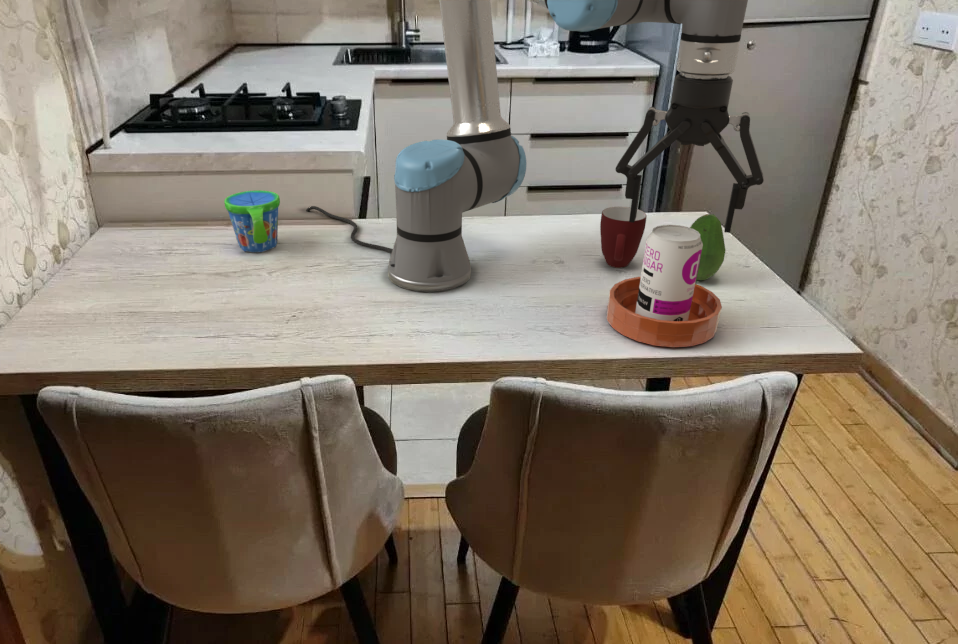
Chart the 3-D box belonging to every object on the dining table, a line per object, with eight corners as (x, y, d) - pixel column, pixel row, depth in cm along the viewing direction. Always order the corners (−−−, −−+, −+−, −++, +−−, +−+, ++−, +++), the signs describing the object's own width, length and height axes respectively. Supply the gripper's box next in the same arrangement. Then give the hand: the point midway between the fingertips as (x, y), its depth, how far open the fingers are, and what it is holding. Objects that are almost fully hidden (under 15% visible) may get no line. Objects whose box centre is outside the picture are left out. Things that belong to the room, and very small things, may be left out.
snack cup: (232, 235, 152) (224, 187, 147) (283, 231, 154) (277, 184, 149) (230, 264, 138) (223, 212, 133) (286, 259, 140) (281, 208, 135)
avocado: (714, 270, 135) (727, 208, 129) (723, 288, 128) (737, 223, 122) (670, 268, 136) (681, 206, 130) (676, 285, 129) (688, 221, 123)
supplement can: (696, 320, 117) (714, 232, 110) (671, 338, 112) (688, 247, 104) (650, 305, 122) (664, 219, 114) (625, 321, 117) (638, 233, 109)
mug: (643, 279, 132) (651, 226, 127) (598, 277, 133) (604, 225, 128) (636, 256, 141) (643, 207, 136) (594, 255, 142) (600, 205, 137)
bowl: (592, 332, 114) (595, 307, 112) (624, 292, 127) (627, 268, 125) (702, 359, 107) (708, 333, 105) (725, 314, 120) (730, 289, 117)
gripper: (606, 74, 99) (591, 223, 109) (807, 83, 91) (769, 242, 102) (614, 66, 105) (598, 208, 115) (803, 74, 97) (767, 225, 108)
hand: (679, 224), depth 109 cm, fingers open, 13 cm apart
